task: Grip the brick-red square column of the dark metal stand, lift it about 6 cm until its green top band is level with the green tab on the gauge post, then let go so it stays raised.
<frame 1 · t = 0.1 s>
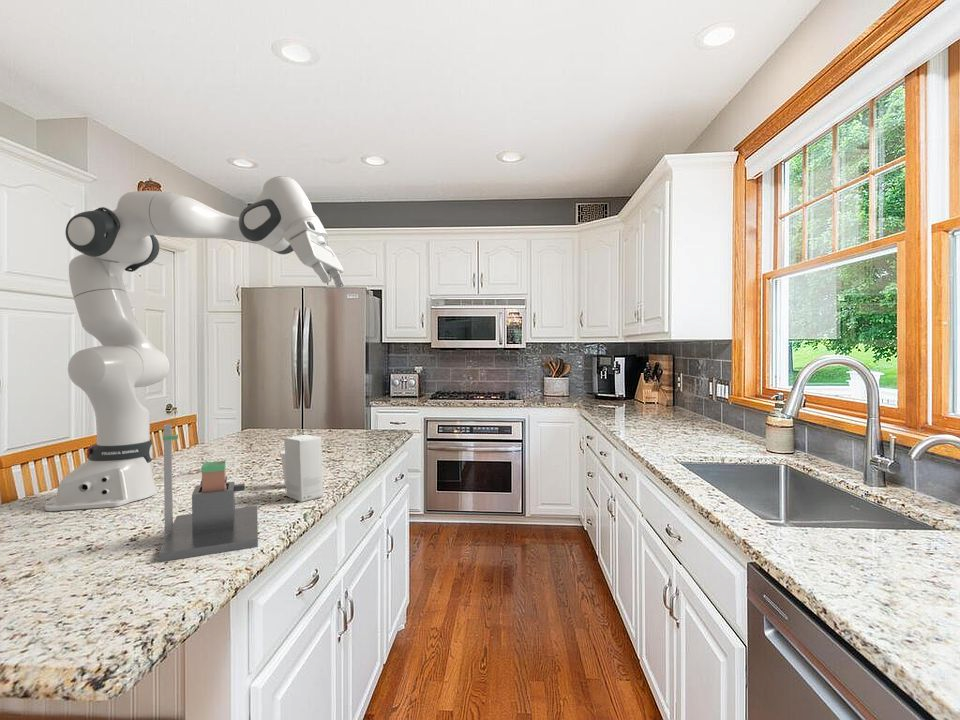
hand: (334, 284, 120), 54 cm above the countertop, tool tilted 30°, fingers open, 8 cm apart
skincare box: (303, 497, 124), on the countertop
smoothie: (292, 486, 134), on the countertop
stand: (214, 533, 99), on the countertop
column: (214, 493, 99), point 8 cm above the countertop, slide at 0.0 cm
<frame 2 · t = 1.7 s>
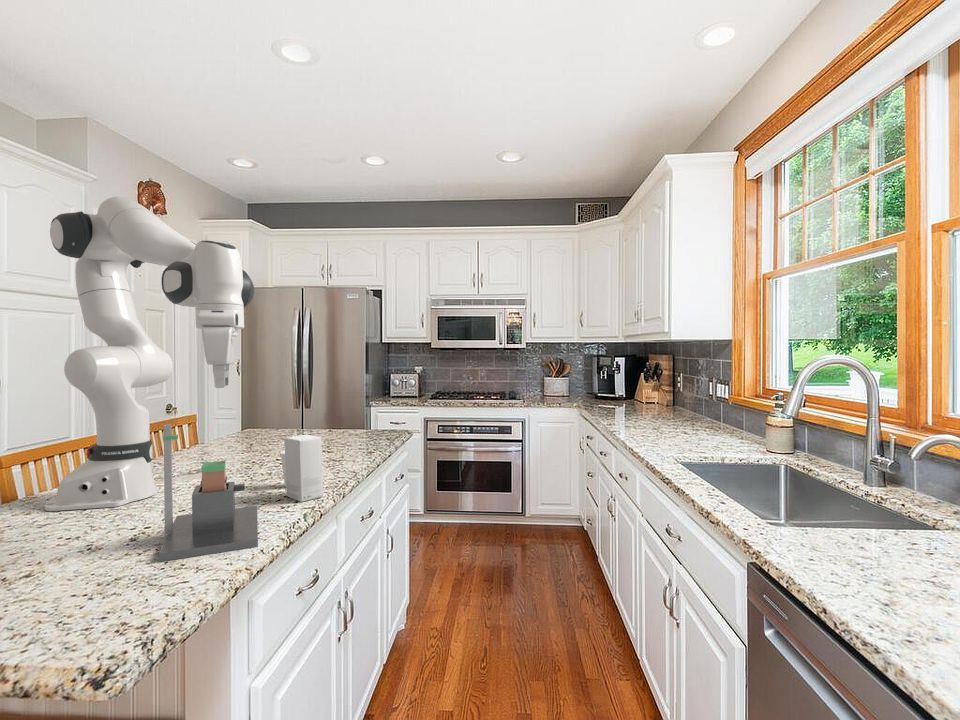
hand: (222, 386, 99), 30 cm above the countertop, tool pointing down, fingers open, 8 cm apart
nothing on the countertop moved.
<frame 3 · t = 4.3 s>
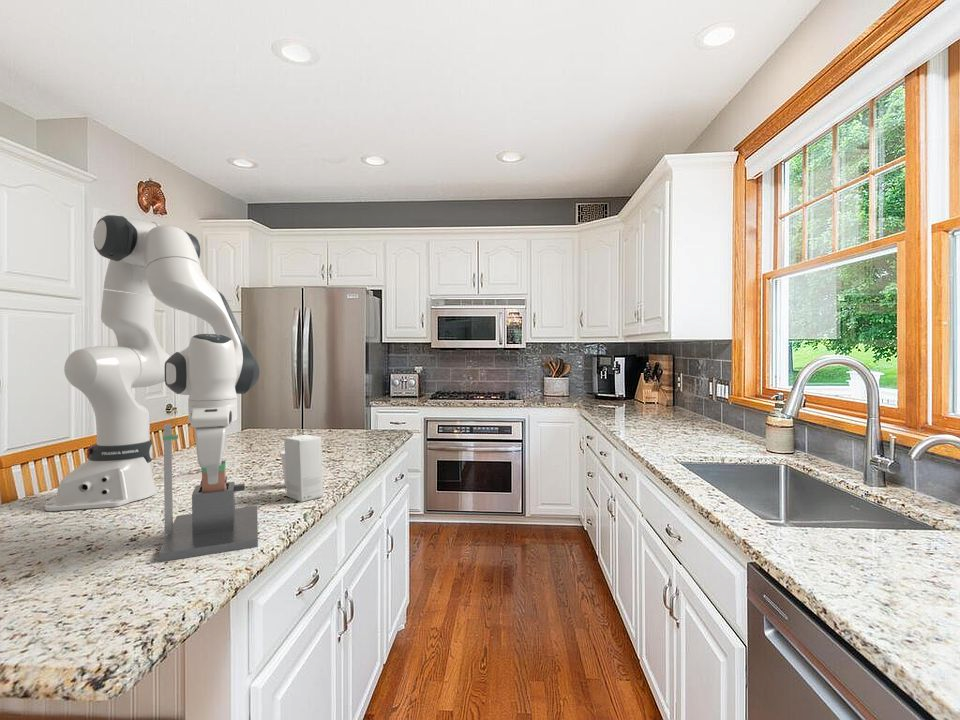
hand: (214, 480, 99), 11 cm above the countertop, tool pointing down, fingers closed on column, 4 cm apart
column: (214, 493, 99), point 8 cm above the countertop, slide at 0.0 cm, touching gripper
everything else where it was.
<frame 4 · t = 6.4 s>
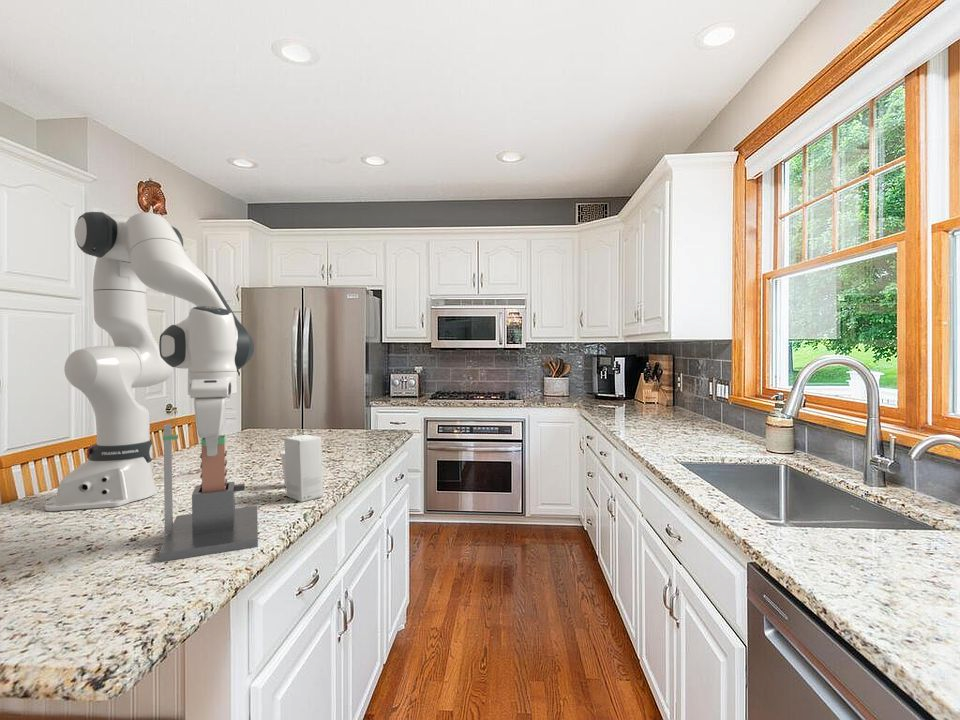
hand: (213, 452, 99), 17 cm above the countertop, tool pointing down, fingers closed on column, 4 cm apart
column: (214, 467, 99), point 14 cm above the countertop, slide at 5.4 cm, touching gripper
everything else where it was.
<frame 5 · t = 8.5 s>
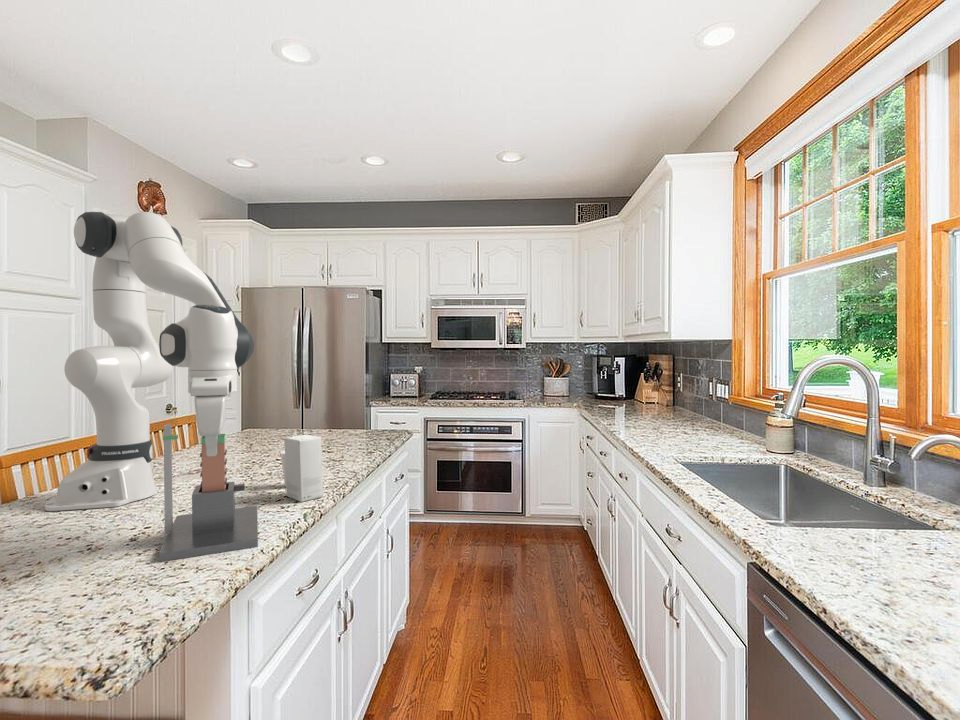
hand: (213, 451, 99), 17 cm above the countertop, tool pointing down, fingers open, 8 cm apart
column: (214, 466, 99), point 14 cm above the countertop, slide at 5.7 cm
everything else where it was.
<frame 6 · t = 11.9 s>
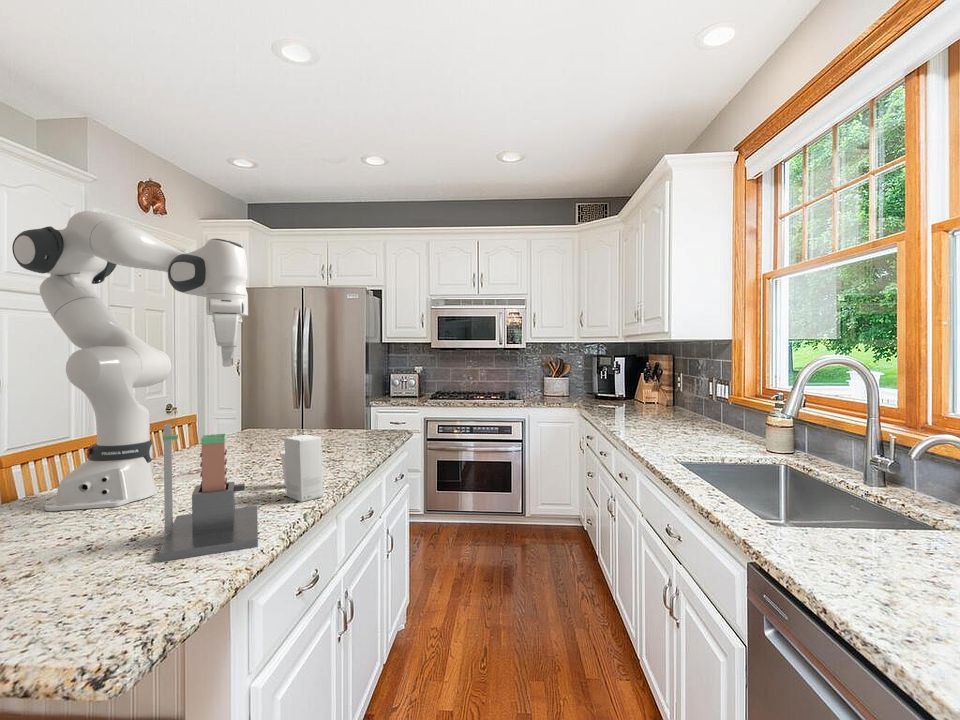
hand: (228, 366, 115), 34 cm above the countertop, tool pointing down, fingers open, 8 cm apart
nothing on the countertop moved.
at the end: column slide at 5.7 cm; the gripper is holding nothing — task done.
